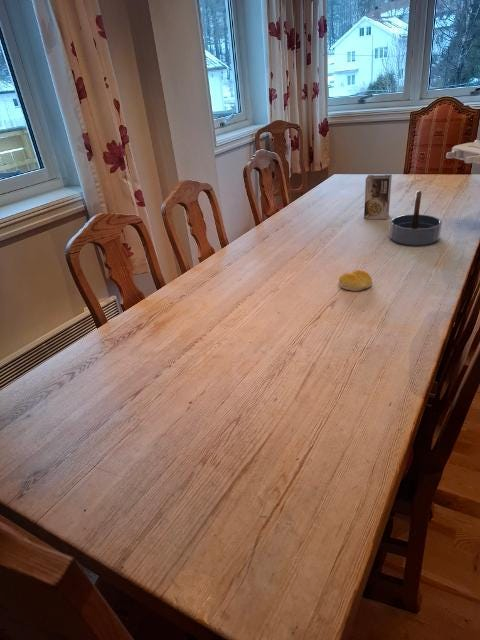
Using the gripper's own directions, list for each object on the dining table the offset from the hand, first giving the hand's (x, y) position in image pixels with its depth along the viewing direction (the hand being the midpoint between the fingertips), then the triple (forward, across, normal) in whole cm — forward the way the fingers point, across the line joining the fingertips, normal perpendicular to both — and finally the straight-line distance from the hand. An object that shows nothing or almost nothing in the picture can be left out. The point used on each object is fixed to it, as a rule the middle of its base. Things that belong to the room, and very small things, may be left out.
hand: (456, 157), depth 140 cm
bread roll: (+47, -28, -25) cm, 60 cm away
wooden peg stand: (+12, 0, -24) cm, 27 cm away
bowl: (+13, -1, -25) cm, 28 cm away
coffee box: (+13, +26, -25) cm, 39 cm away
